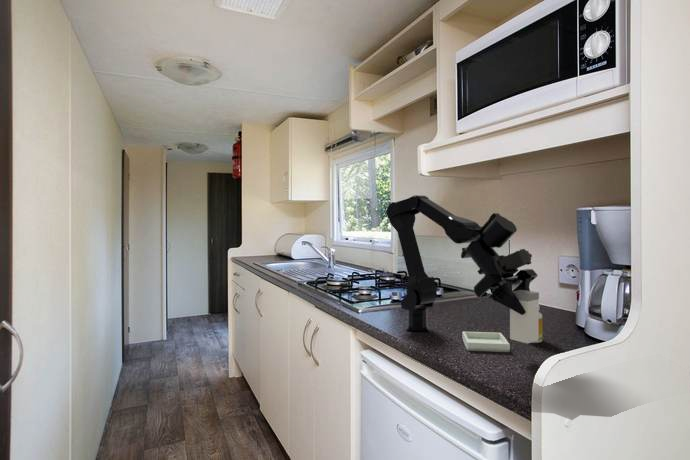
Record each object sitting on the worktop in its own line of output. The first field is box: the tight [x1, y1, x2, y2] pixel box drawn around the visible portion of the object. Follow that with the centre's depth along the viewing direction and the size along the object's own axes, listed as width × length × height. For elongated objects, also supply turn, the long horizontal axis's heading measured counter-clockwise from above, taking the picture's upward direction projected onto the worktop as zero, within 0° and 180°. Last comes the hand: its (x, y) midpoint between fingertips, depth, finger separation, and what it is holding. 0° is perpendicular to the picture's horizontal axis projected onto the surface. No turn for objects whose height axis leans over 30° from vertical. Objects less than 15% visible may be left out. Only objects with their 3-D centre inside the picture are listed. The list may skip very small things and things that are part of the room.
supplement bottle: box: [530, 307, 543, 344], centre depth 108 cm, size 5×5×10 cm
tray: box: [461, 331, 511, 353], centre depth 104 cm, size 10×10×2 cm
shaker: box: [509, 290, 540, 344], centre depth 93 cm, size 4×4×11 cm
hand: (529, 312), depth 92 cm, fingers closed on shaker, 4 cm apart
